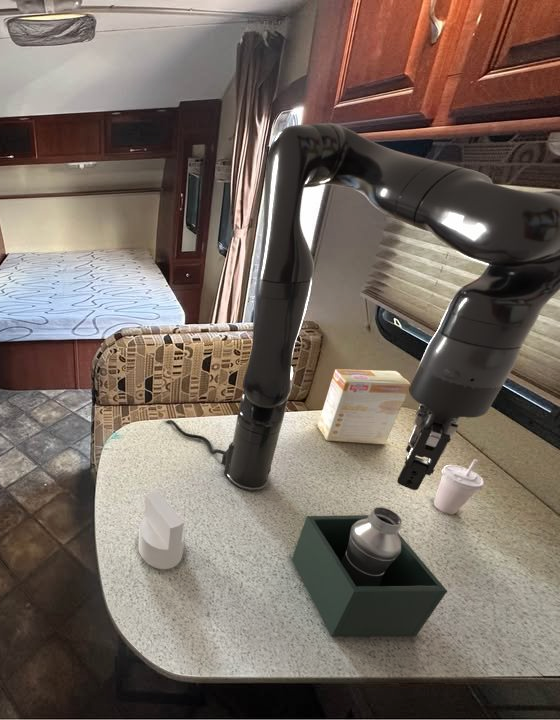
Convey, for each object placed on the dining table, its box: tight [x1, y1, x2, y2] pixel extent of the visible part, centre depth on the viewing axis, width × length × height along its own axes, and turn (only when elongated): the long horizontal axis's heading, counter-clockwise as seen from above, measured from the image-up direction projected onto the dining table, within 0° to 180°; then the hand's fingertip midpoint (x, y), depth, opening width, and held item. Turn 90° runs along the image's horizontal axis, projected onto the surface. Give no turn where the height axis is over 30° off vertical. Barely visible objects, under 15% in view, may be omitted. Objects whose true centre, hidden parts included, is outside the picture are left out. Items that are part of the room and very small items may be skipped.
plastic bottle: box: [341, 506, 403, 587], centre depth 62 cm, size 6×7×20 cm
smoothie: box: [433, 458, 485, 515], centre depth 79 cm, size 6×6×14 cm
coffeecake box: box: [317, 368, 411, 445], centre depth 100 cm, size 15×7×20 cm, turn 80°
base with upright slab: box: [138, 489, 186, 570], centre depth 74 cm, size 9×9×12 cm
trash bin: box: [291, 514, 448, 638], centre depth 64 cm, size 14×14×13 cm
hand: (410, 468), depth 53 cm, fingers open, 8 cm apart
